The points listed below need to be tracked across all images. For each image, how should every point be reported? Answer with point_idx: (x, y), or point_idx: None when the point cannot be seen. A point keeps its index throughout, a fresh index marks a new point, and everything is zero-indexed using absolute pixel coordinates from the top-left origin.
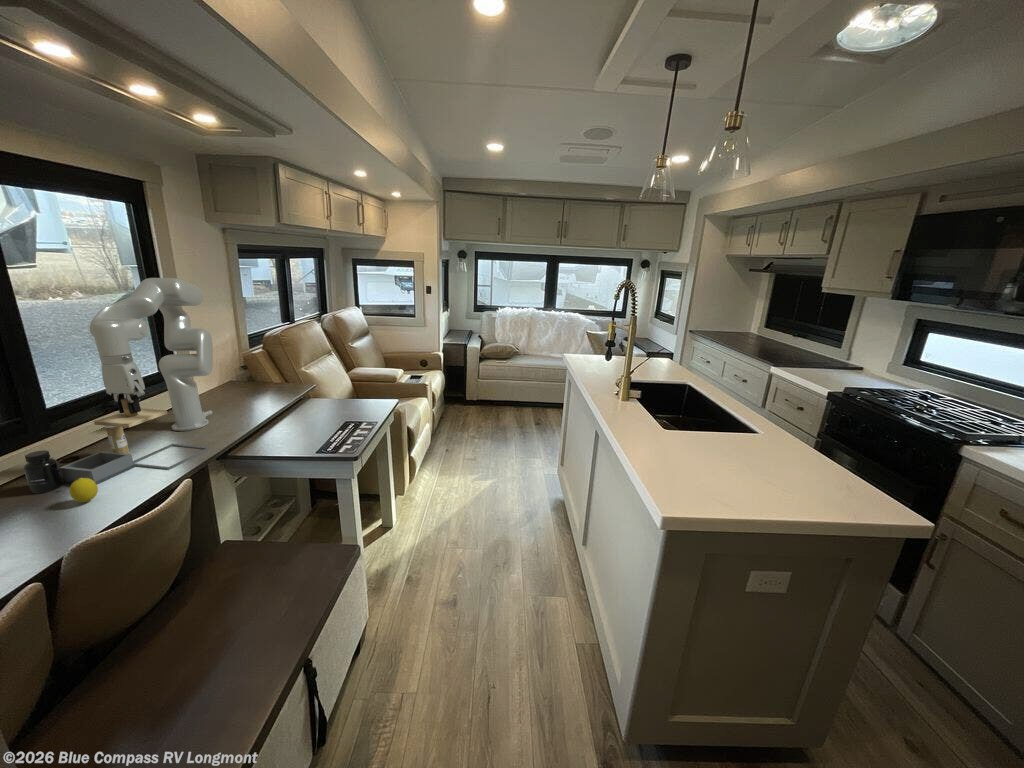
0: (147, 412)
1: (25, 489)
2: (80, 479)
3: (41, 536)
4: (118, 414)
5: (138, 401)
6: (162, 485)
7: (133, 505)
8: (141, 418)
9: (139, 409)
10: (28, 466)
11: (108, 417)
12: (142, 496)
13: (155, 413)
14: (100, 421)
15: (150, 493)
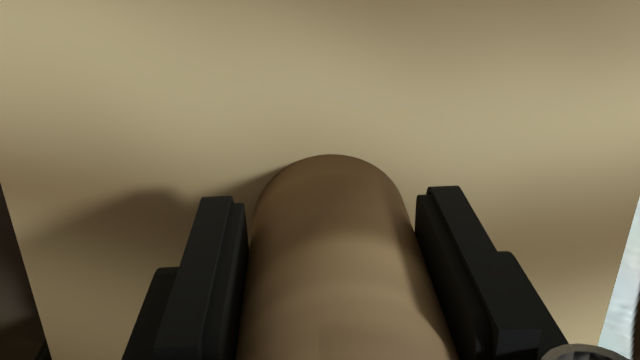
0: (447, 59)
1: (25, 356)
2: None
3: None
4: (73, 226)
5: (527, 311)
6: (635, 219)
7: (627, 353)
8: (582, 280)
9: (505, 253)
10: None
11: (90, 338)
12: (612, 303)
13: (635, 76)
14: None
15: (630, 281)
